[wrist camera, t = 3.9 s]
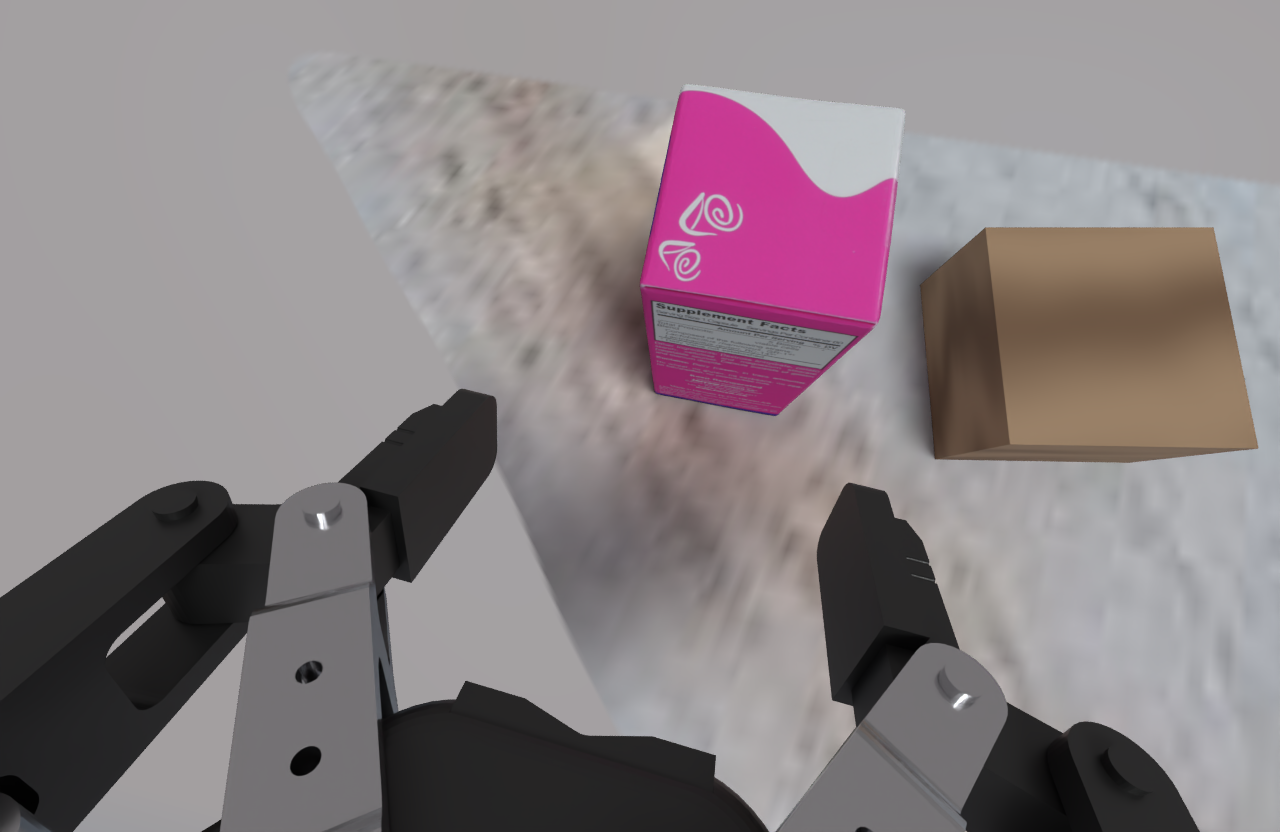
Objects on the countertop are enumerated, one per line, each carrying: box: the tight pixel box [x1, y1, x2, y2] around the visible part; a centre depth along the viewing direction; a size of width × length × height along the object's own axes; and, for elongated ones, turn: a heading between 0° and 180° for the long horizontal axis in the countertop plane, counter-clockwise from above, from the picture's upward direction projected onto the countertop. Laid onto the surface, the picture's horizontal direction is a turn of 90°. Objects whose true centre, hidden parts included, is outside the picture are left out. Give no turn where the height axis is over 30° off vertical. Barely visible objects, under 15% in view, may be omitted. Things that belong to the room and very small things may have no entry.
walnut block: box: [920, 228, 1258, 463], centre depth 20 cm, size 8×8×5 cm
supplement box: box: [640, 84, 905, 416], centre depth 18 cm, size 6×6×11 cm
